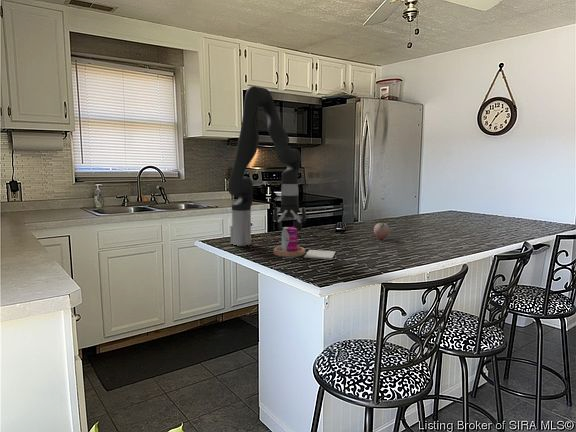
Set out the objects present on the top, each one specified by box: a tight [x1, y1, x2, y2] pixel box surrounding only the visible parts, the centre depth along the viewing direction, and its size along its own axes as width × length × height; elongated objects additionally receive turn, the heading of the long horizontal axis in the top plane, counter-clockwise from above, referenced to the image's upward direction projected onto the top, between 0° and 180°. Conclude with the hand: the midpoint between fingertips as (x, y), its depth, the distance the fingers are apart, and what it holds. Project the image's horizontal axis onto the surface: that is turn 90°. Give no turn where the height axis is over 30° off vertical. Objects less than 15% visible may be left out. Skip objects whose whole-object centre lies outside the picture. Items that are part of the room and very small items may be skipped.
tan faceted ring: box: [273, 245, 306, 258], centre depth 184 cm, size 14×14×2 cm
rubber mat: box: [303, 249, 337, 260], centre depth 181 cm, size 12×13×1 cm
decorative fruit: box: [373, 220, 391, 240], centre depth 217 cm, size 9×8×10 cm
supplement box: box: [281, 226, 298, 252], centre depth 183 cm, size 6×6×12 cm
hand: (289, 230), depth 183 cm, fingers open, 8 cm apart
